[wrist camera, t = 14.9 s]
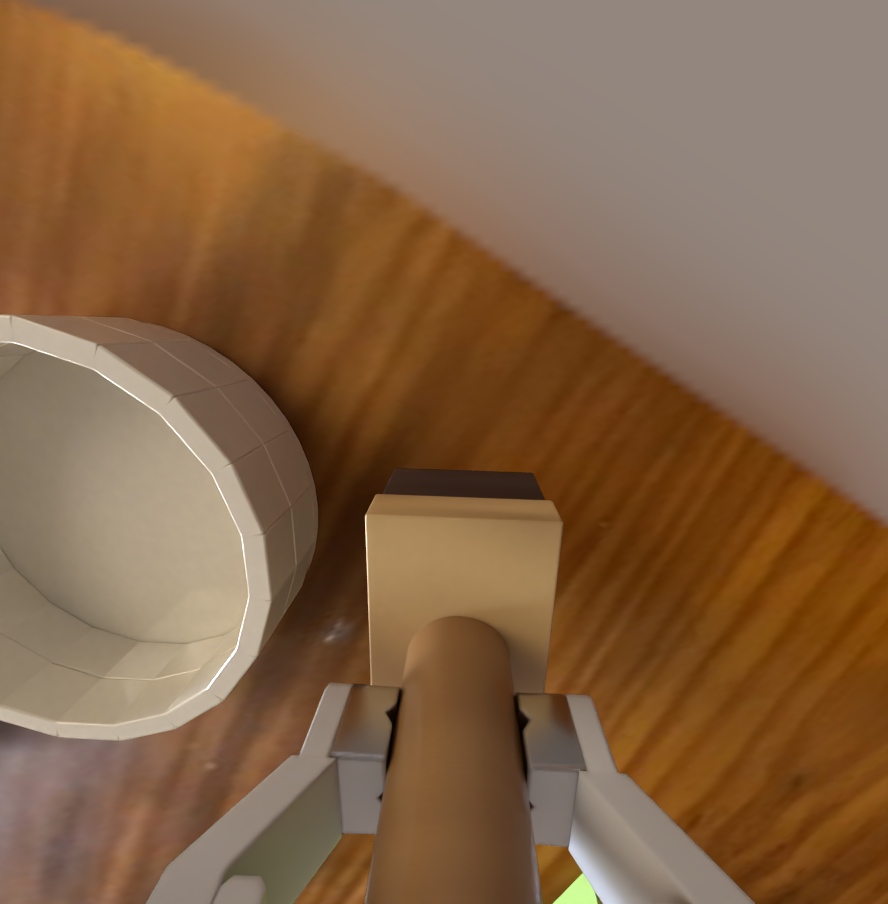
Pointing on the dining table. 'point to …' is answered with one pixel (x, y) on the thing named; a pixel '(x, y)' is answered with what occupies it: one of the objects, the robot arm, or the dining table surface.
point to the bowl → (138, 525)
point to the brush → (458, 679)
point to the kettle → (579, 893)
